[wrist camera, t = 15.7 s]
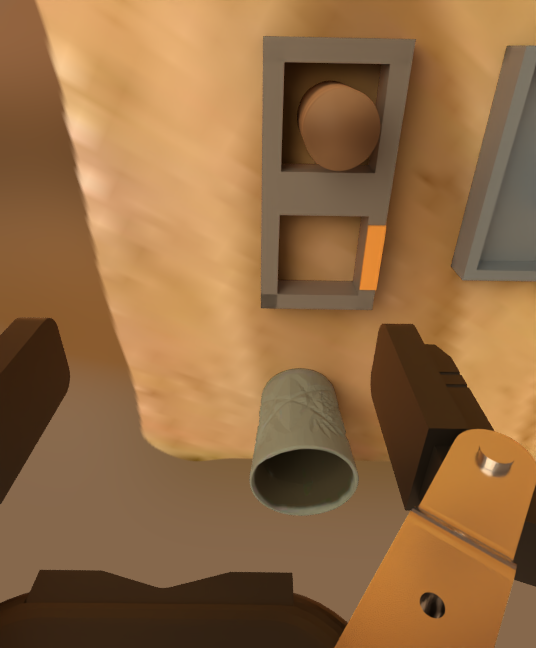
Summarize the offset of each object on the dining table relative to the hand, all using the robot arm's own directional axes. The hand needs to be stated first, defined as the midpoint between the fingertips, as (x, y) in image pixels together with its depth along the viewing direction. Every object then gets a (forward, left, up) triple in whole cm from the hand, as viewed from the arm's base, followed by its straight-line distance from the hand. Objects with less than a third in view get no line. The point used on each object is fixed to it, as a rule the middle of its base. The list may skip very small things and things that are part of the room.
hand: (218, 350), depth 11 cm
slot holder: (+4, +6, -30) cm, 31 cm away
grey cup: (+28, +5, -30) cm, 42 cm away
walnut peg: (-2, +6, -30) cm, 31 cm away
